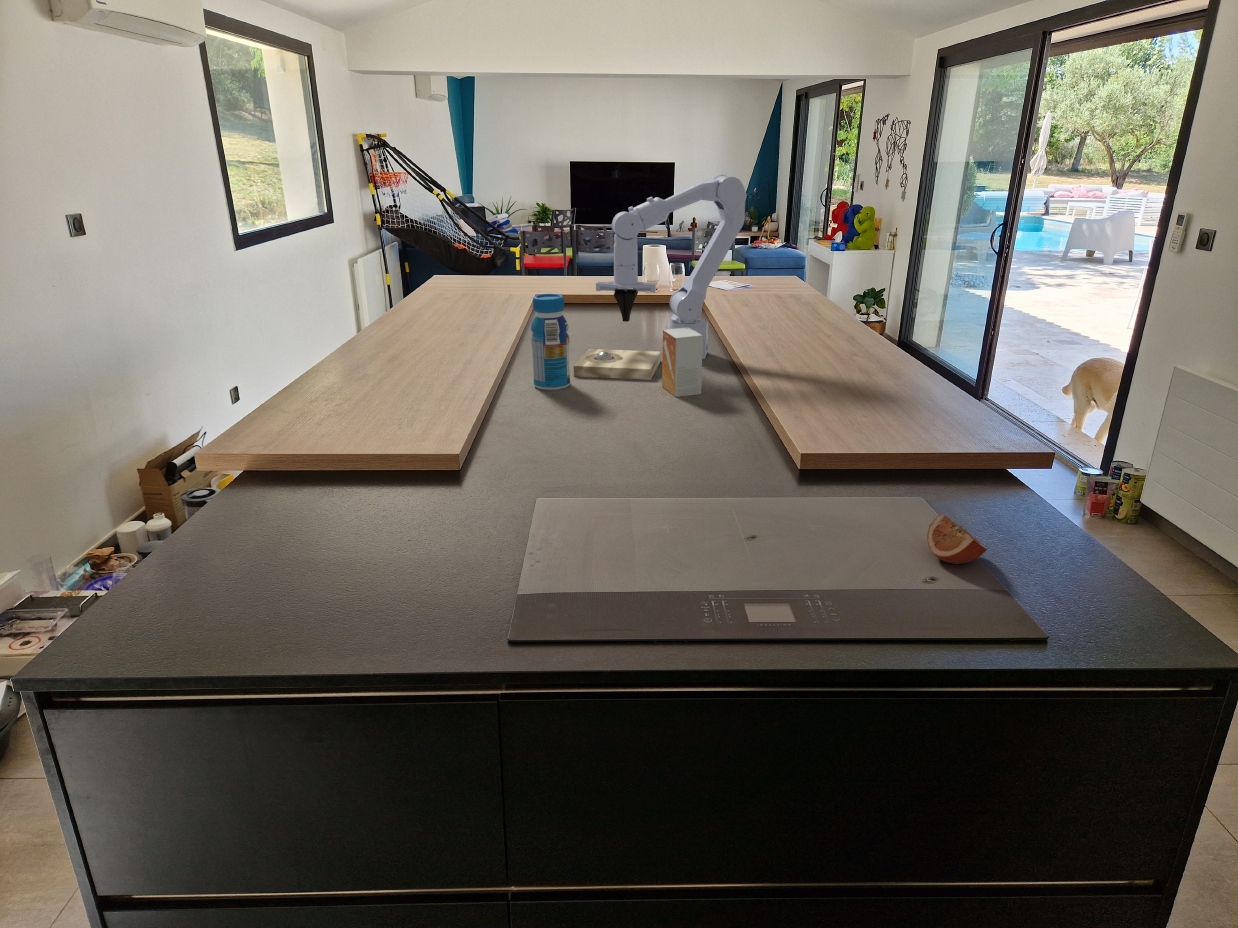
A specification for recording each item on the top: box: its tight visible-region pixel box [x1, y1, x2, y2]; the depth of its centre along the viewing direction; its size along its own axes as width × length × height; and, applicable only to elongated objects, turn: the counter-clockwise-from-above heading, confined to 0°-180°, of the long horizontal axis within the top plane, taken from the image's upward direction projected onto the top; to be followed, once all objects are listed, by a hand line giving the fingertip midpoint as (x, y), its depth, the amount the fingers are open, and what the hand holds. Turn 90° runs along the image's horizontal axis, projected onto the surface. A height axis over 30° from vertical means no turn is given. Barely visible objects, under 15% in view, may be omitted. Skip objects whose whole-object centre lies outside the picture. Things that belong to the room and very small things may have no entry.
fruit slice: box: [926, 512, 988, 565], centre depth 107 cm, size 8×7×5 cm
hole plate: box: [573, 348, 662, 381], centre depth 194 cm, size 18×16×2 cm
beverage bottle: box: [530, 293, 571, 391], centre depth 178 cm, size 8×8×20 cm
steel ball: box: [596, 352, 612, 361], centre depth 194 cm, size 4×4×4 cm
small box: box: [661, 328, 703, 398], centre depth 175 cm, size 8×6×13 cm
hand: (626, 320), depth 200 cm, fingers closed
